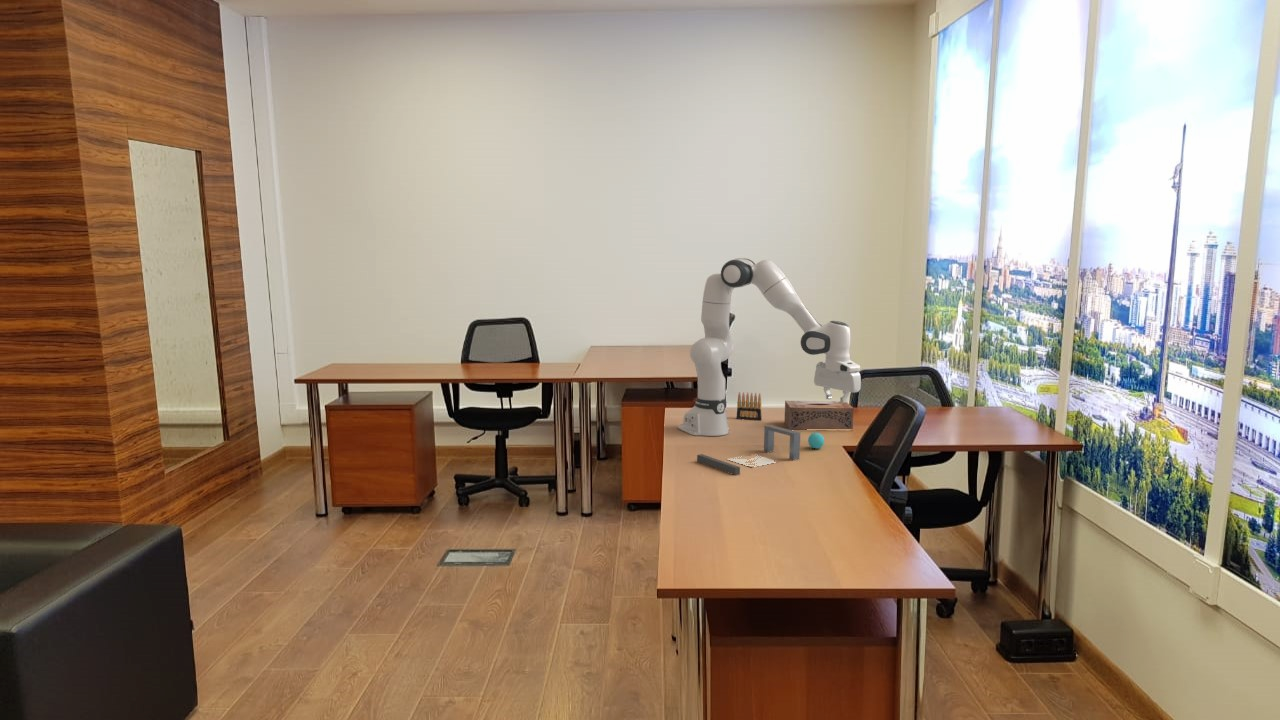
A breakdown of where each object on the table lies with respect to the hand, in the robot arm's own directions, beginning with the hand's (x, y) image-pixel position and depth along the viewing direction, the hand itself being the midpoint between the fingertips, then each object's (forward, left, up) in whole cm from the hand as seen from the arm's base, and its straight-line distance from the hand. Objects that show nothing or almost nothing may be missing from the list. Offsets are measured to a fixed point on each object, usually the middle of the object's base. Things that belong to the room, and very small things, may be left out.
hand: (835, 400), depth 309 cm
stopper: (0, -58, -17) cm, 60 cm away
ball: (0, -10, -14) cm, 17 cm away
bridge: (0, -28, -17) cm, 33 cm away
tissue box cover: (-25, +18, -18) cm, 36 cm away
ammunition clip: (-52, +4, -18) cm, 55 cm away
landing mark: (0, -42, -17) cm, 45 cm away
